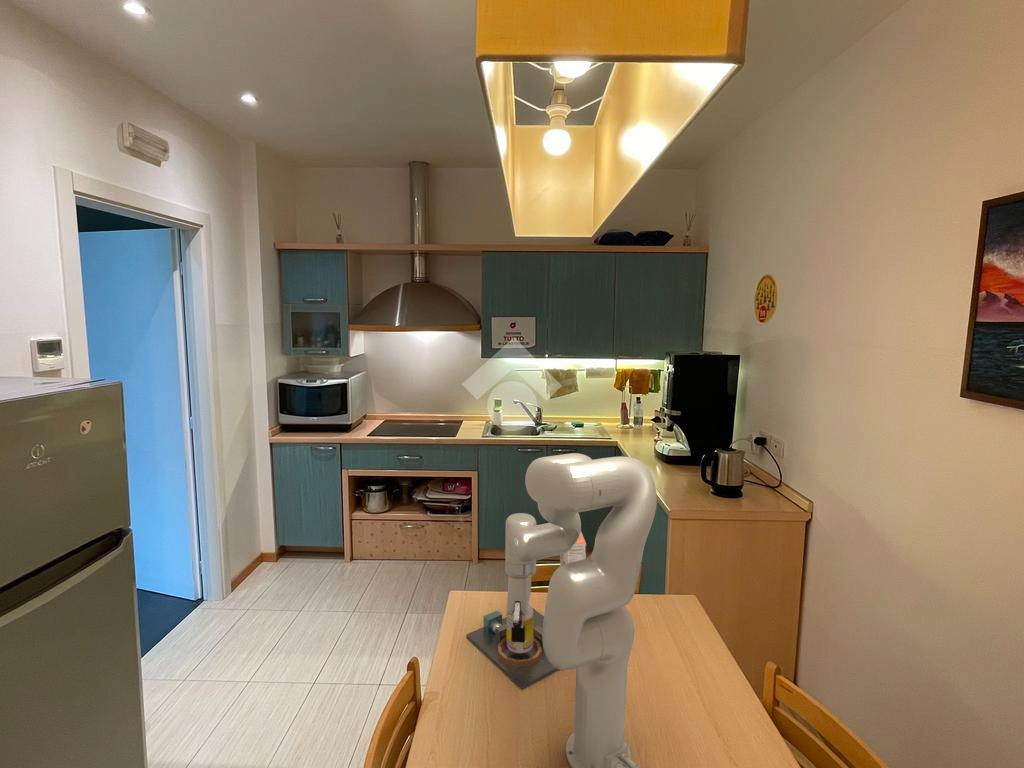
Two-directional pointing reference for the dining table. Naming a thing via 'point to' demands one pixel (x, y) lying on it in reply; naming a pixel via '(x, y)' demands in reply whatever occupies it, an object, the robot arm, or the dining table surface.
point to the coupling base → (513, 665)
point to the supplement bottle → (528, 624)
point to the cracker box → (574, 552)
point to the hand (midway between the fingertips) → (520, 631)
